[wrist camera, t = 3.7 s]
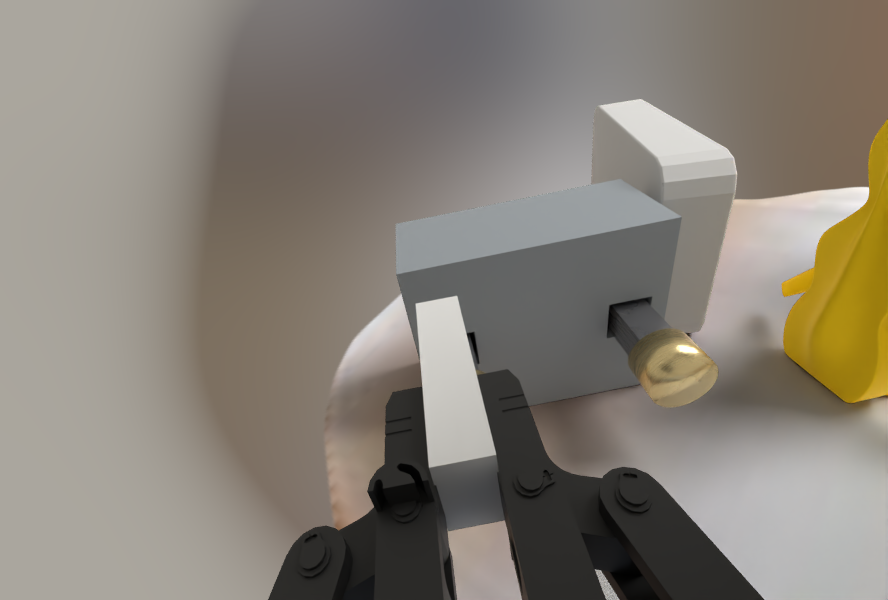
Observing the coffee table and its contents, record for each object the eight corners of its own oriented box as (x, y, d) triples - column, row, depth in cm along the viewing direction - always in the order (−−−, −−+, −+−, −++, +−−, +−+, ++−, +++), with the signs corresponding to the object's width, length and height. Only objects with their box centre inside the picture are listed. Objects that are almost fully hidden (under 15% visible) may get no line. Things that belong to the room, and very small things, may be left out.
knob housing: (609, 322, 44) (620, 178, 35) (653, 381, 36) (681, 216, 28) (429, 358, 44) (395, 224, 35) (437, 424, 37) (396, 274, 28)
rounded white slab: (726, 342, 39) (780, 152, 29) (641, 346, 40) (665, 167, 30) (641, 220, 62) (655, 92, 52) (589, 226, 64) (593, 102, 54)
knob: (642, 321, 35) (647, 278, 32) (710, 400, 27) (725, 351, 25) (591, 331, 35) (593, 289, 32) (646, 412, 27) (654, 365, 25)
